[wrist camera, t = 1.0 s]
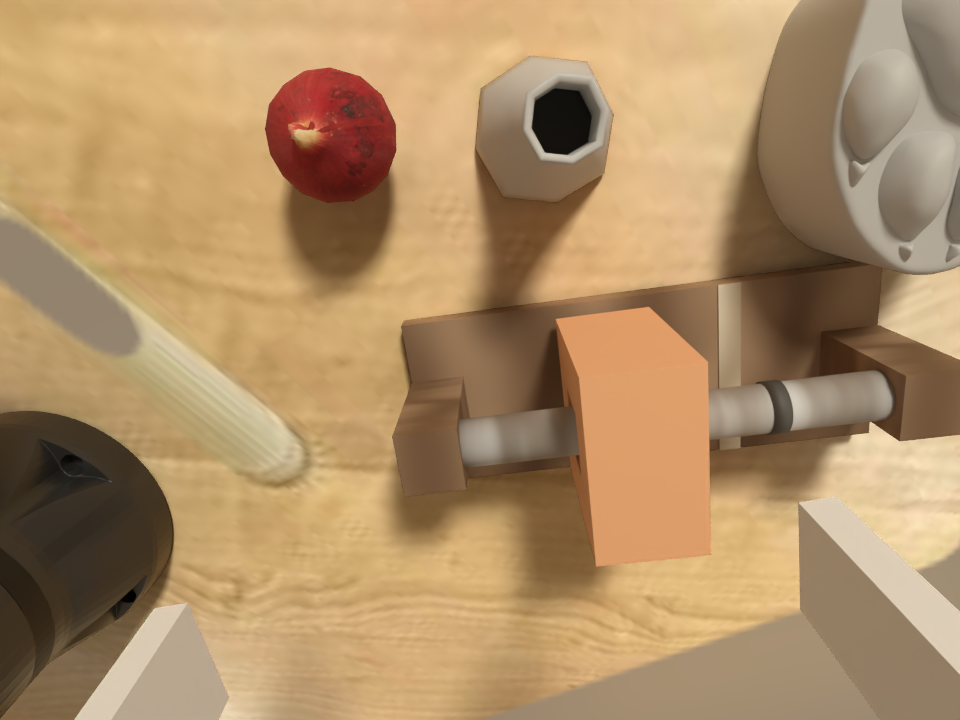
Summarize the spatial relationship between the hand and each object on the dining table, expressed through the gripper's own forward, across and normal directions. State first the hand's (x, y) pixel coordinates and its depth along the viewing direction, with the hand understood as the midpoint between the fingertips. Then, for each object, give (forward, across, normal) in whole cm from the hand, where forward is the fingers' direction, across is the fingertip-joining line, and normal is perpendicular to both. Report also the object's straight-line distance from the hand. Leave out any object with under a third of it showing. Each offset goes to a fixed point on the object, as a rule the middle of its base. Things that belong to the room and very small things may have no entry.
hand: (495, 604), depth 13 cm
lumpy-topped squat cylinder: (+22, +21, +7) cm, 31 cm away
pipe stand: (+22, +8, -4) cm, 24 cm away
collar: (+20, +6, -4) cm, 22 cm away
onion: (+23, -5, +11) cm, 26 cm away
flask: (+23, +5, +10) cm, 25 cm away
